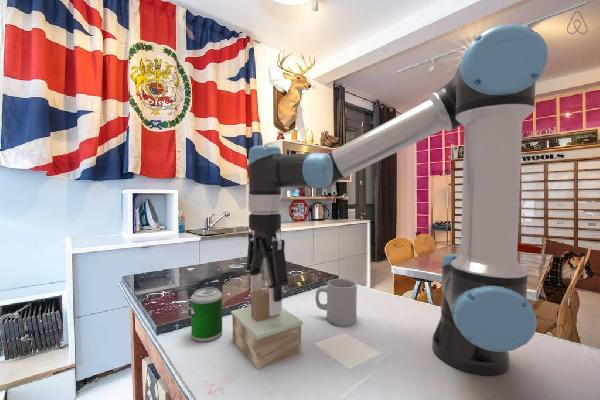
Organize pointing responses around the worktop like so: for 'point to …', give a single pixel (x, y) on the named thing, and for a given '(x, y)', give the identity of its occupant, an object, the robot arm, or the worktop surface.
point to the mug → (339, 302)
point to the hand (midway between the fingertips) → (265, 307)
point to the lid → (264, 317)
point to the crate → (267, 344)
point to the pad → (347, 350)
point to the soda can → (206, 314)
